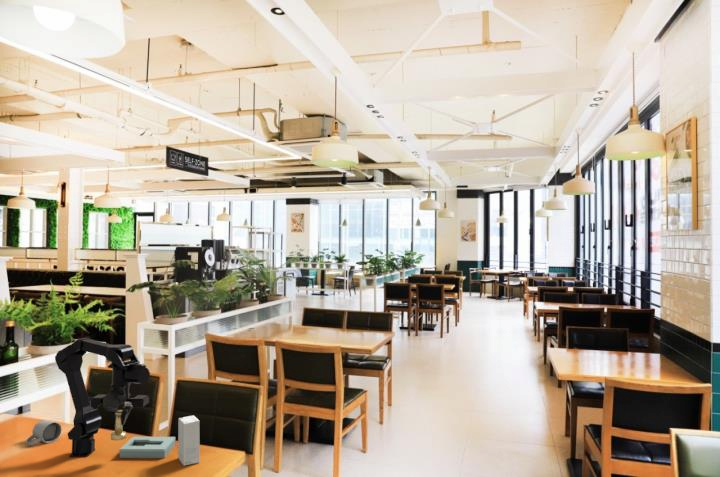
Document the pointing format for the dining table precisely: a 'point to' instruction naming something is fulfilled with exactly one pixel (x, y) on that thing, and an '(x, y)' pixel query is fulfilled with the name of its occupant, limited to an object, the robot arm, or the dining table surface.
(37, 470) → the dining table surface
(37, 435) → the ceramic mug
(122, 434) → the brass door knob
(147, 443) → the keyhole plate
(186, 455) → the skincare box
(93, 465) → the dining table surface
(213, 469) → the dining table surface
